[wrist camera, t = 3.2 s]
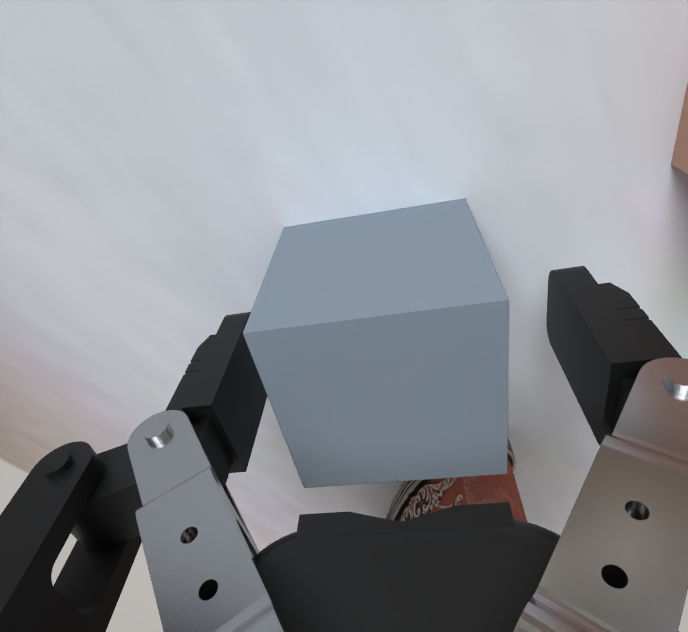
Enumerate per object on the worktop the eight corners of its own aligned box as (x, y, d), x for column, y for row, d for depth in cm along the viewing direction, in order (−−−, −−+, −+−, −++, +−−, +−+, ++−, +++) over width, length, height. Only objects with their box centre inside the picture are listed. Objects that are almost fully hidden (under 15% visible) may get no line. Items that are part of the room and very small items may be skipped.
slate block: (322, 359, 16) (304, 487, 12) (284, 226, 13) (242, 332, 9) (471, 342, 15) (506, 473, 11) (464, 197, 12) (508, 299, 8)
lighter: (449, 414, 17) (517, 810, 9) (531, 438, 17) (668, 834, 9) (370, 526, 21) (366, 855, 13) (437, 542, 22) (474, 870, 14)
